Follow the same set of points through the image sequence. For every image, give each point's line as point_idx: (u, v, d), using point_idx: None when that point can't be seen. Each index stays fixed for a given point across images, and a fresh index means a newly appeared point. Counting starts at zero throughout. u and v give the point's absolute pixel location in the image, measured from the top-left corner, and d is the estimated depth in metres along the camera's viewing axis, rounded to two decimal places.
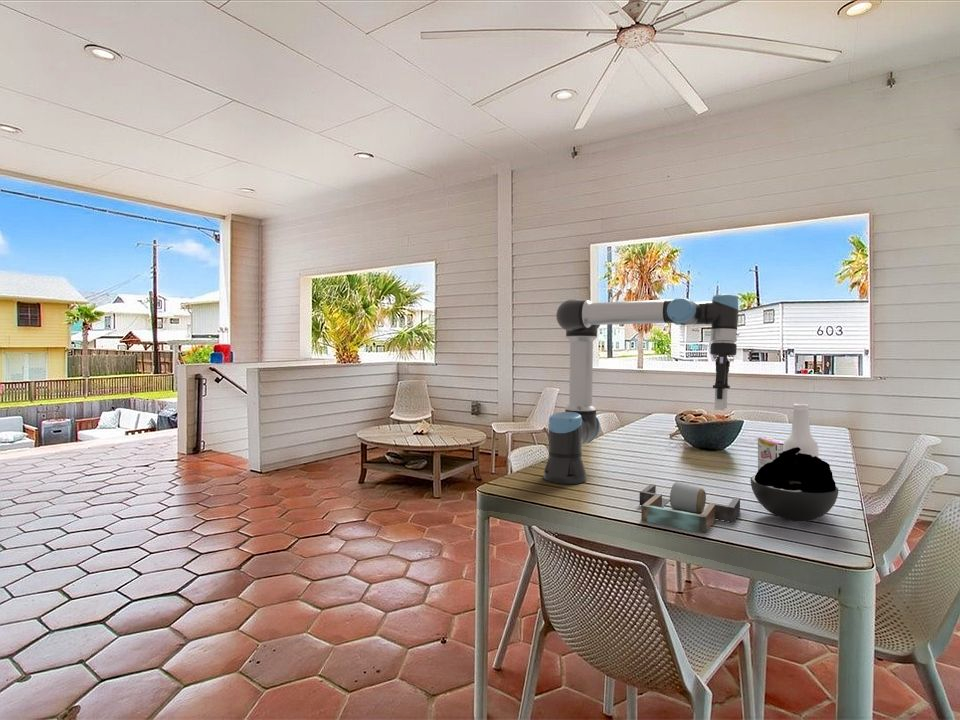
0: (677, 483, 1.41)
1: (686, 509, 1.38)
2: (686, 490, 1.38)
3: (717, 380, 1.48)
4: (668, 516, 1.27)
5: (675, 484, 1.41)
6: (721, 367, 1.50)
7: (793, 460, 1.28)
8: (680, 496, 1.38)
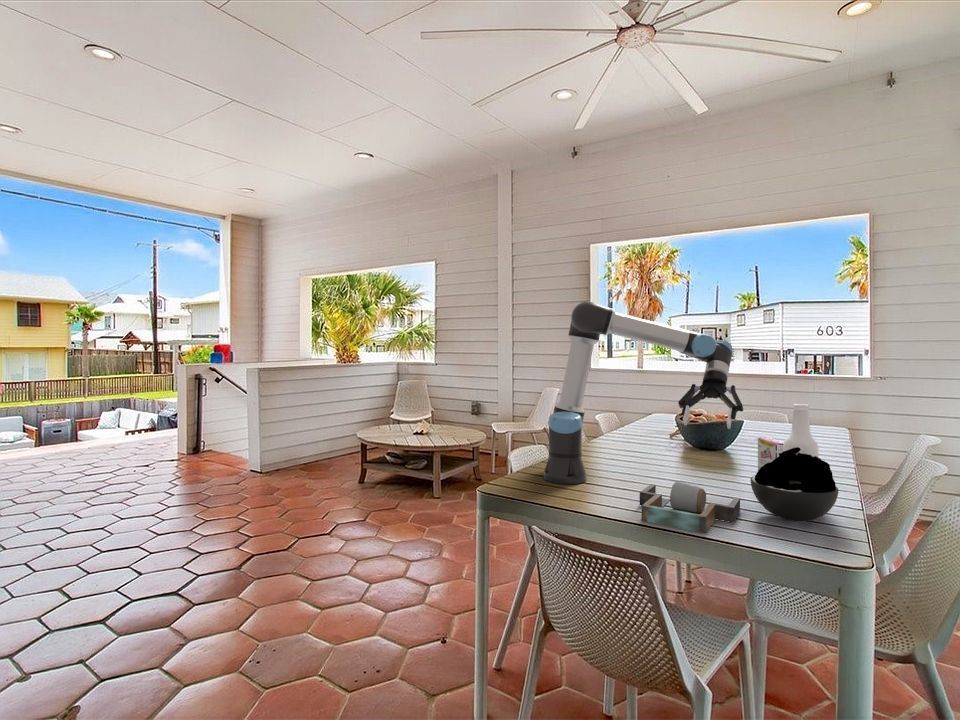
0: (677, 483, 1.41)
1: (686, 509, 1.38)
2: (686, 490, 1.38)
3: None
4: (668, 516, 1.27)
5: (675, 484, 1.41)
6: (736, 395, 1.62)
7: (793, 460, 1.28)
8: (680, 496, 1.38)
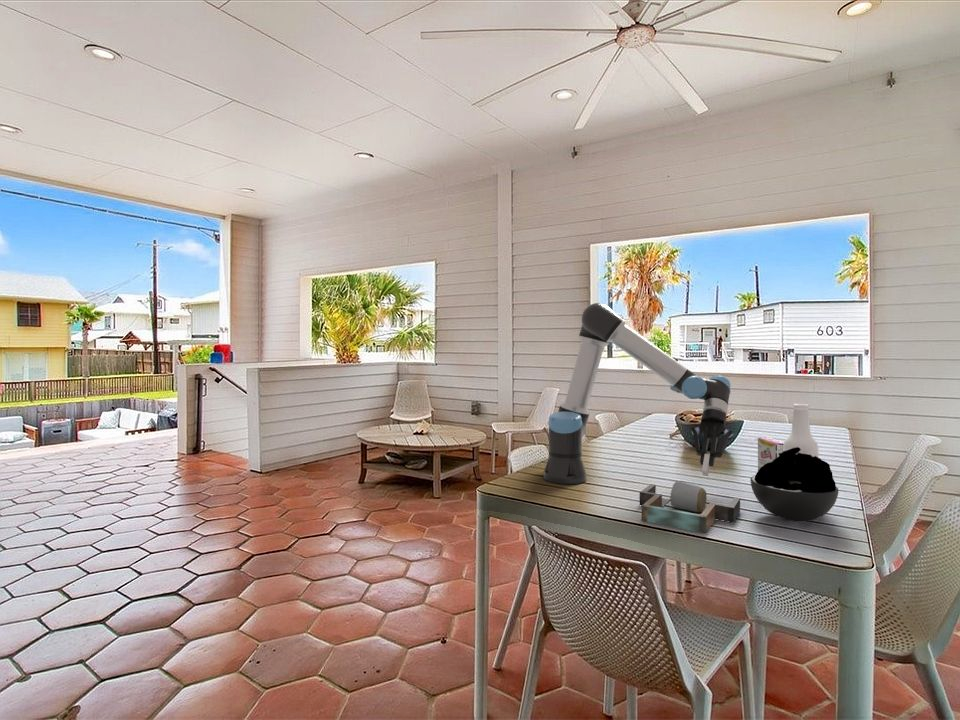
0: (678, 482, 1.41)
1: (687, 508, 1.38)
2: (687, 490, 1.38)
3: (721, 450, 1.56)
4: (668, 516, 1.27)
5: (676, 483, 1.41)
6: (727, 441, 1.58)
7: (793, 460, 1.28)
8: (681, 495, 1.38)
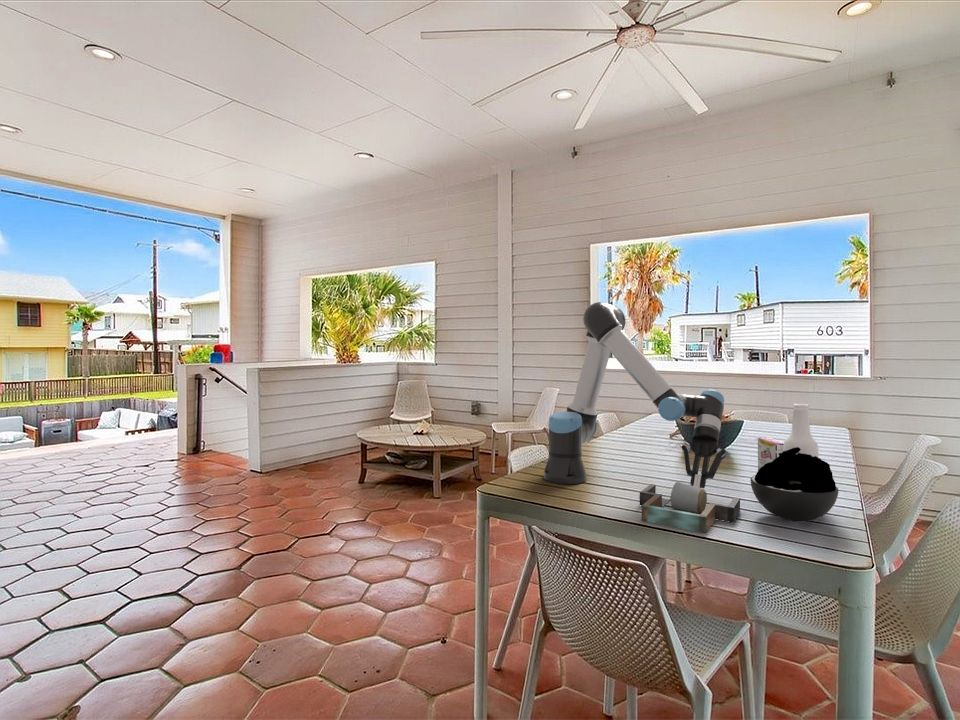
0: (678, 483, 1.41)
1: (687, 510, 1.37)
2: (687, 491, 1.37)
3: (713, 471, 1.46)
4: (668, 516, 1.27)
5: (676, 484, 1.40)
6: (719, 461, 1.49)
7: (793, 460, 1.28)
8: (681, 496, 1.37)
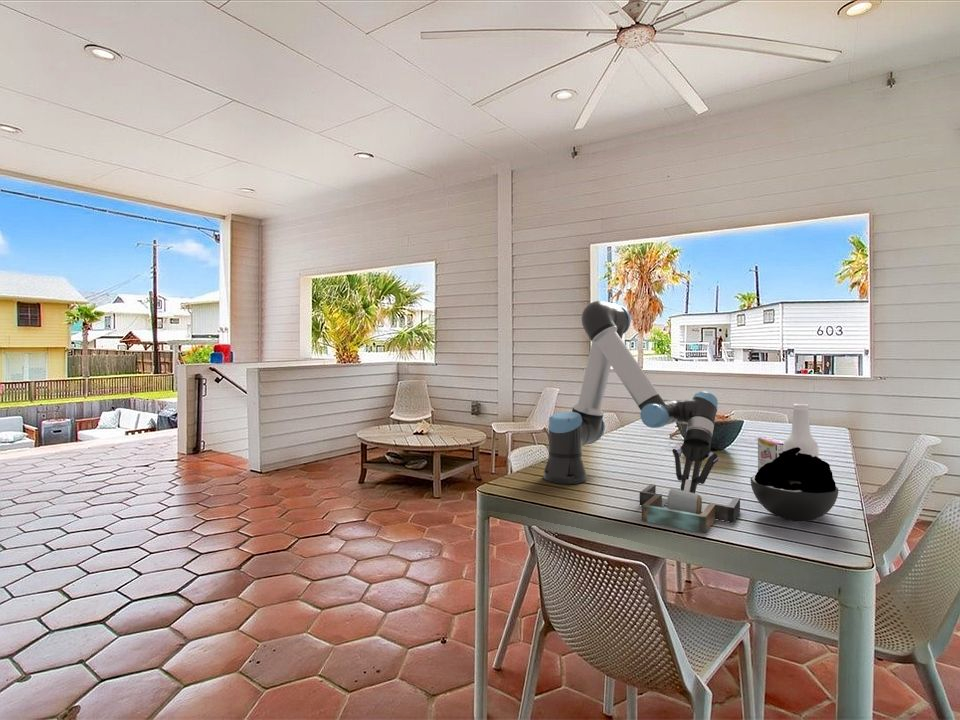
0: (673, 490, 1.34)
1: None
2: (684, 497, 1.31)
3: (704, 476, 1.40)
4: (668, 516, 1.27)
5: (671, 491, 1.33)
6: (711, 465, 1.42)
7: (793, 460, 1.28)
8: (678, 504, 1.30)
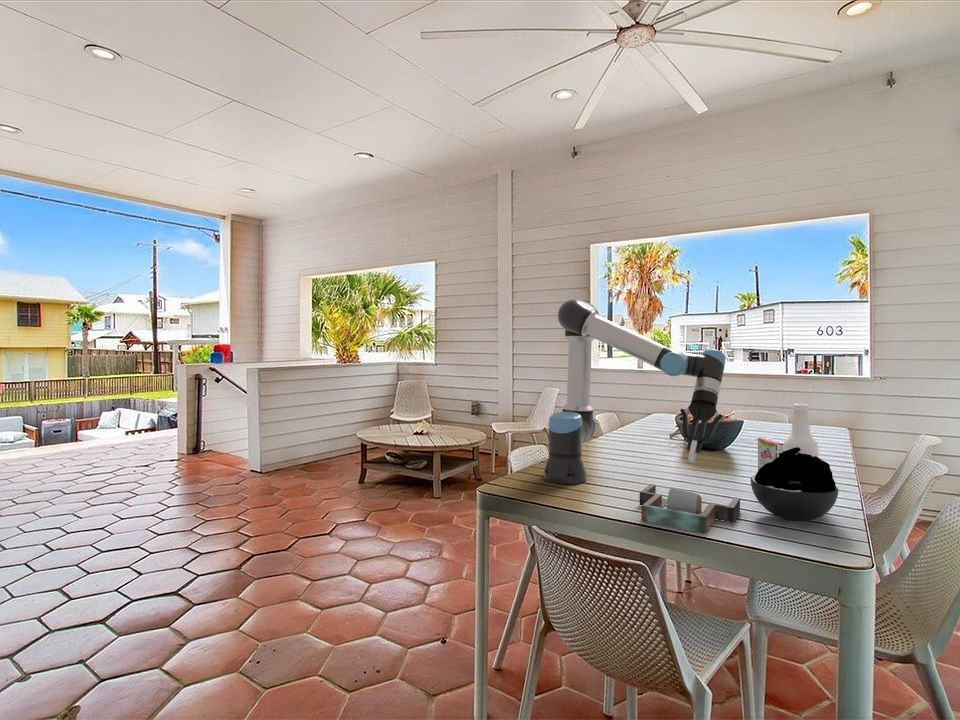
0: (673, 490, 1.34)
1: None
2: (684, 497, 1.31)
3: (709, 437, 1.52)
4: (668, 516, 1.27)
5: (671, 491, 1.33)
6: (716, 425, 1.54)
7: (793, 460, 1.28)
8: (678, 504, 1.31)
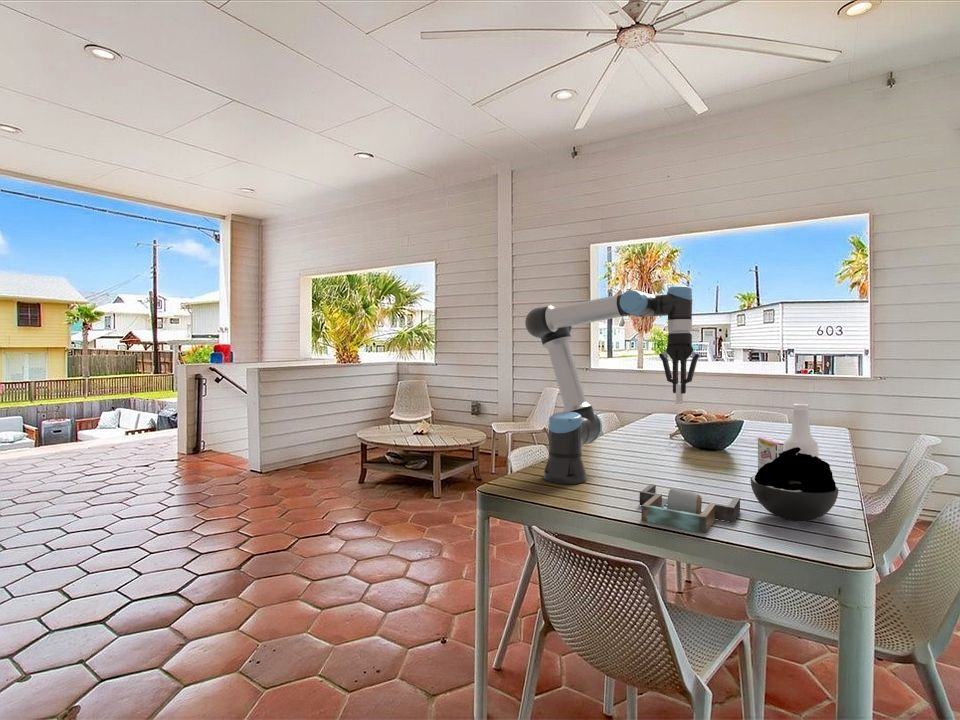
0: (673, 490, 1.34)
1: None
2: (684, 497, 1.31)
3: (691, 377, 1.60)
4: (668, 516, 1.27)
5: (671, 491, 1.34)
6: (695, 364, 1.60)
7: (793, 460, 1.28)
8: (678, 503, 1.31)
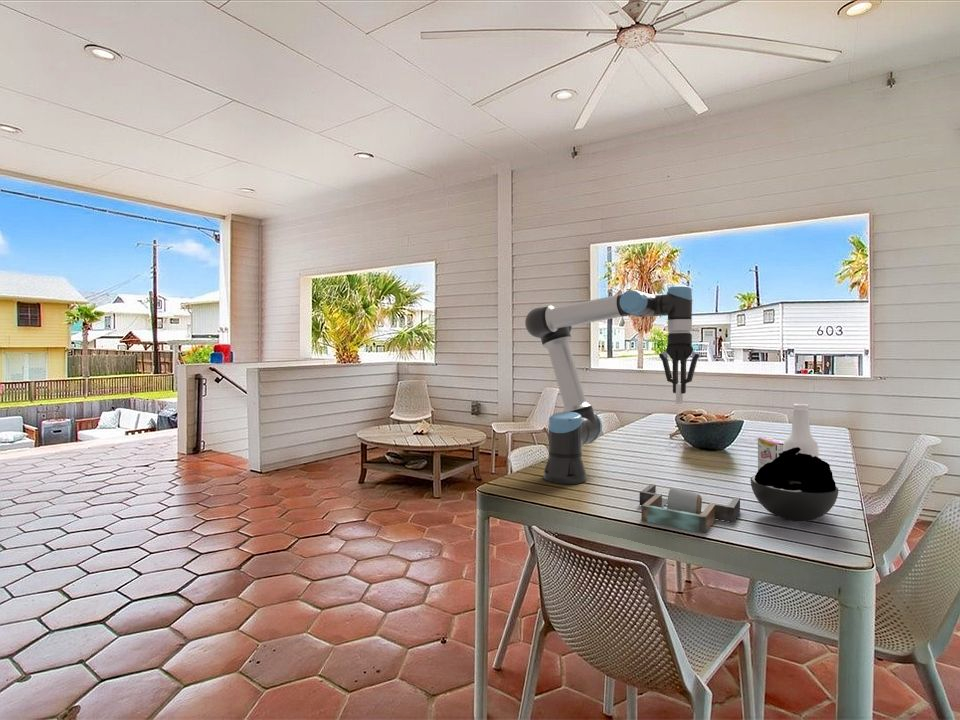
0: (673, 489, 1.34)
1: None
2: (684, 497, 1.31)
3: (691, 377, 1.60)
4: (668, 516, 1.27)
5: (671, 491, 1.34)
6: (695, 364, 1.60)
7: (793, 460, 1.28)
8: (678, 503, 1.31)
